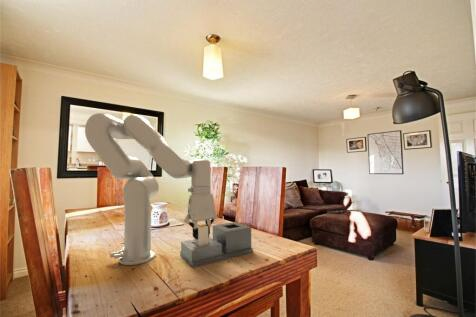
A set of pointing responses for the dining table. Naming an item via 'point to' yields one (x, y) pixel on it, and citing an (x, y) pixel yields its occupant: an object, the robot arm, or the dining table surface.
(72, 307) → the dining table surface
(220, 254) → the socket block
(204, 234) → the plug
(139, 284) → the dining table surface
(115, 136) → the robot arm
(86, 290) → the dining table surface
